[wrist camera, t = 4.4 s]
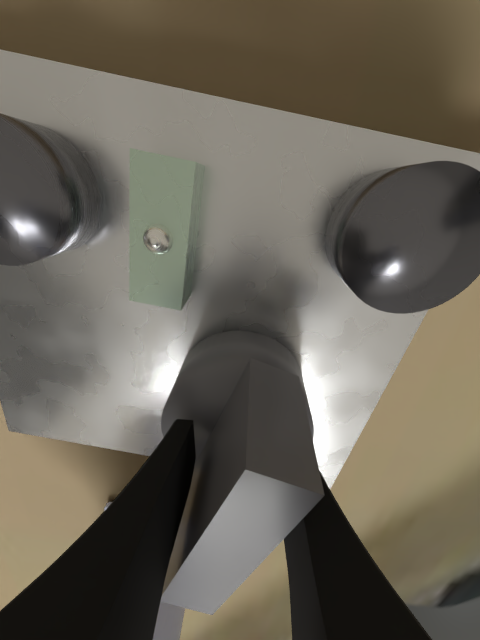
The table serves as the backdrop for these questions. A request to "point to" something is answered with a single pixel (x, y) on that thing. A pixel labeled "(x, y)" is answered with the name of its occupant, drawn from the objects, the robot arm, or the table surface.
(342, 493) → the table surface
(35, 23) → the table surface
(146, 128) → the plate
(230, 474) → the knob
